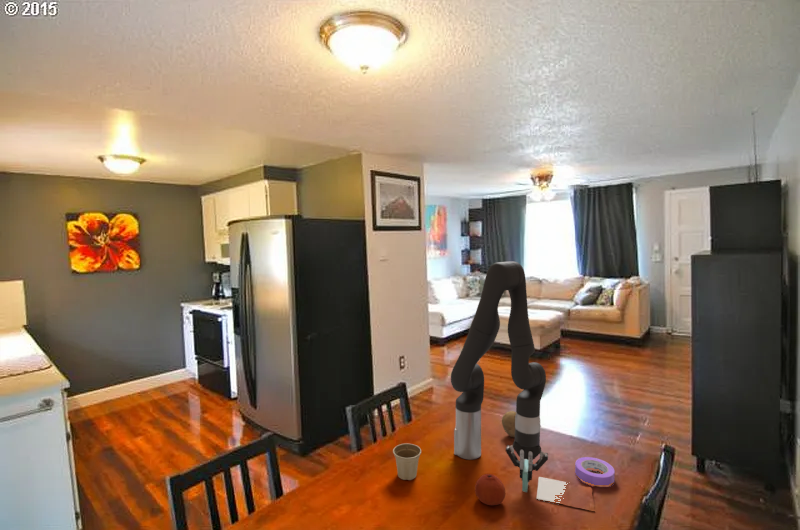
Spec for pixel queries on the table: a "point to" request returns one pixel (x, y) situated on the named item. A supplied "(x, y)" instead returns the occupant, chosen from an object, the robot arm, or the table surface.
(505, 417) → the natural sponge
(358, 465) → the table surface
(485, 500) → the fruit
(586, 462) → the masking tape
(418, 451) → the flower pot
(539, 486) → the mat
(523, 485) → the tile
